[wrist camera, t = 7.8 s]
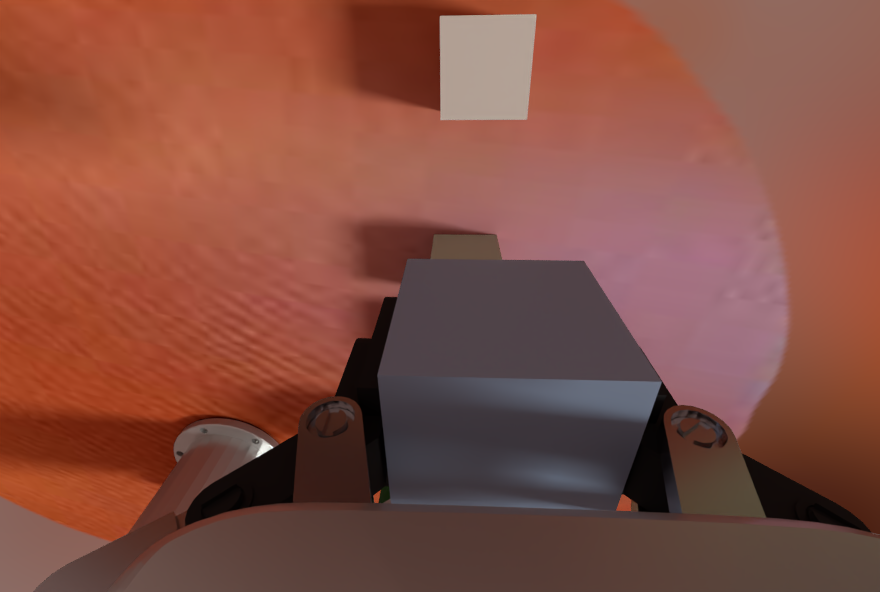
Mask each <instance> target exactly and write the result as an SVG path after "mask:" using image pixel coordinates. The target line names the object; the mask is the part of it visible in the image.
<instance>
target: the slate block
mask: <svg viewBox="0 0 880 592" xmlns="http://www.w3.org/2000/svg"><path fill="white" fill-rule="evenodd" d="M377 377H378V386H379V395H380V405H381V414H382V424H383V433H384V443H385V452H386V461H387V471H388V480H389V490H390V499H391V504H425V505H460V506H492V507H522V508H552V509H580V510H608V511H616V509H617V506H618V503H619V500H620V497H621V495H622V492H623V489H624V486H625V484H626V481H627V478H628V475H629V472H630V470H631V467H632V464H633V461H634V458H635V456H636V453H637V450H638V447H639V444H640V442H641V439H642V436H643V433H644V430H645V428H646V425H647V422H648V419H649V416H650V414H651V411H652V408H653V405H654V402H655V400H656V397H657V394H658V391H659V389H660V386H661V383H662V381H661V380H660V378H659V377H658V375H657V373H656V372H655V370H654V369H653V367H652V366H651V364H650V363H649V361H648V360H647V358H646V356H645V355H644V353H643V352H642V350H641V349H640V347H639V346H638V344H637V343H636V341H635V339H634V338H633V336H632V335H631V333H630V332H629V330H628V329H627V327H626V325H625V324H624V322H623V321H622V319H621V318H620V316H619V315H618V313H617V312H616V310H615V308H614V307H613V305H612V304H611V302H610V301H609V299H608V298H607V296H606V295H605V293H604V291H603V290H602V288H601V287H600V285H599V284H598V282H597V281H596V279H595V277H594V276H593V274H592V273H591V271H590V270H589V268H588V267H587V265H586V264H585V262H584V261H550V260H470V259H407V263H406V267H405V271H404V274H403V278H402V282H401V286H400V290H399V294H398V298H397V301H396V305H395V309H394V313H393V317H392V321H391V325H390V329H389V332H388V336H387V340H386V344H385V348H384V352H383V356H382V359H381V363H380V367H379V371H378V375H377Z"/></svg>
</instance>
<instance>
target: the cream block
mask: <svg viewBox="0 0 880 592" xmlns="http://www.w3.org/2000/svg"><path fill="white" fill-rule="evenodd" d="M536 15H537V14H528V15H463V16H440V110H441V120H527V114H528V103H529V92H530V81H531V70H532V59H533V48H534V37H535V26H536Z"/></svg>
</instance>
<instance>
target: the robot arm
mask: <svg viewBox="0 0 880 592" xmlns="http://www.w3.org/2000/svg"><path fill="white" fill-rule="evenodd" d="M397 298H398V297H385V298H384V301H383V304H382V307H381V311H380V314H379V317H378V320H377V323H376V327H375V330H374V333H373V336H372V339H369V338H358V339H356V341H355V343H354V346H353V349H352V352H351V354H350V357H349V360H348V362H347V365H346V368H345V371H344V373H343V376H342V379H341V381H340V384H339V387H338V389H337V392H336V395H335V397H328V398H325V399H321V400H319V401H317V402H315V403H313V404H312V405H311V406H309V407H308V408H307V409H306V410H305V411H304V413H303V414H302V416H301V418H300V421H299V427H298V434H296V435H295V436H293V437H291V438H290V439H288V440H286V441H284V442H283V443H281V444H278V443H277V442H276V441H275V440H274V439H273V438H272V437H271V436H269V435H268V434H266V433H265V432H263V431H262V430H260V429H258V428H256V427H254V426H252V425H249V424H247V423H244V422H241V421H236V420H231V419H223V418H211V419H203V420H199V421H196V422H194V423H192V424H189V425H188V426H187V427H186V428H184V429H183V431H182V432H181V433H180V434H179V436H178V437H177V439H176V441H175V443H174V449H173V451H174V456H175V459H176V461H177V464H176V466H175V467H174V469H173V470H172V471H171V473H170V474H169V476H168V477H167V479H166V480H165V481H164V483H163V484H162V486H161V487H160V489H159V490H158V491H157V493H156V494H155V496H154V497H153V499H152V500H151V501H150V503H149V504H148V506H147V507H146V508H145V510H144V511H143V513H142V514H141V516H140V517H139V518H138V520H137V521H136V523H135V524H134V526H133V527H132V528H131V530H130V531H129V533H128V534H127V535H125V536H123V537H121V538H119V539H117V540H115V541H113V542H111V543H109V544H107V545H105V546H103V547H101V548H99V549H97V550H95V551H93V552H91V553H89V554H87V555H85V556H83V557H81V558H79V559H77V560H75V561H73V562H71V563H69V564H67V565H65V566H64V567H62V568H60V569H59V570H57V571H56V572H55V573H53V574H51V575H50V576H49V577H48V578H47V579H46V580H44V581H43V582H42V583H41V584H40V585H39V586H38V587H37V588H36V589H35V590H34V592H880V535H878V534H874V533H871V531H870V530H869V529H868V528H867V527H866V526H865V525H864V523H863V522H862V521H860V520H859V519H858V518H857V517H855V516H854V515H853V514H852V513H851V512H849V511H848V510H846V509H844V508H843V507H841V506H840V505H838V504H836V503H834V502H833V501H831V500H829V499H827V498H825V497H823V496H821V495H819V494H818V493H816V492H814V491H812V490H810V489H808V488H806V487H804V486H803V485H801V484H799V483H797V482H795V481H793V480H791V479H789V478H787V477H785V476H784V475H782V474H780V473H778V472H776V471H774V470H772V469H770V468H769V467H767V466H765V465H763V464H761V463H759V462H757V461H755V460H754V459H752V458H750V457H748V456H746V455H744V454H742V453H741V450H740V448H739V445H738V443H737V440H736V437H735V435H734V434H733V432H732V430H731V429H730V427H729V426H728V425H727V424H726V423H725V422H724V421H722V420H721V419H720V418H718V417H717V416H715V415H714V414H712V413H710V412H708V411H706V410H703V409H700V408H697V407H694V406H687V405H677V404H676V402H675V400H674V399H673V397H672V396H671V394H670V393H669V391H668V390H667V388H666V386H665V385H664V383H663V382H662V383H661V386H660V389H659V391H658V394H657V397H656V400H655V402H654V405H653V408H652V411H651V414H650V416H649V419H648V422H647V425H646V428H645V430H644V433H643V436H642V439H641V442H640V444H639V447H638V450H637V453H636V456H635V458H634V461H633V464H632V467H631V470H630V472H629V475H628V478H627V481H626V484H625V486H624V489H623V492H622V494H624V495H626V496H627V497H628V498H630V499H631V511H608V510H580V509H552V508H522V507H492V506H460V505H425V504H391V503H374V497H373V495H374V494H376V493H377V492H378V491H380V490H381V489H382V488H383V487H385V486H386V487H389V480H388V471H387V461H386V452H385V443H384V433H383V424H382V414H381V405H380V395H379V386H378V377H377V375H378V371H379V367H380V363H381V359H382V356H383V352H384V348H385V344H386V340H387V336H388V332H389V329H390V325H391V321H392V317H393V313H394V309H395V305H396V301H397ZM640 349H641V348H640ZM641 350H642V349H641ZM642 352H643V351H642ZM643 353H644V352H643ZM644 355H645V354H644ZM645 356H646V355H645ZM646 358H647V357H646ZM647 360H648V359H647ZM648 361H649V360H648ZM649 363H650V362H649ZM650 364H651V363H650ZM651 366H652V365H651ZM652 367H653V366H652ZM653 369H654V368H653ZM654 370H655V369H654ZM655 372H656V371H655ZM657 375H658V374H657ZM658 377H659V376H658ZM659 378H660V377H659ZM660 380H661V379H660ZM661 381H662V380H661Z"/></svg>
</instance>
